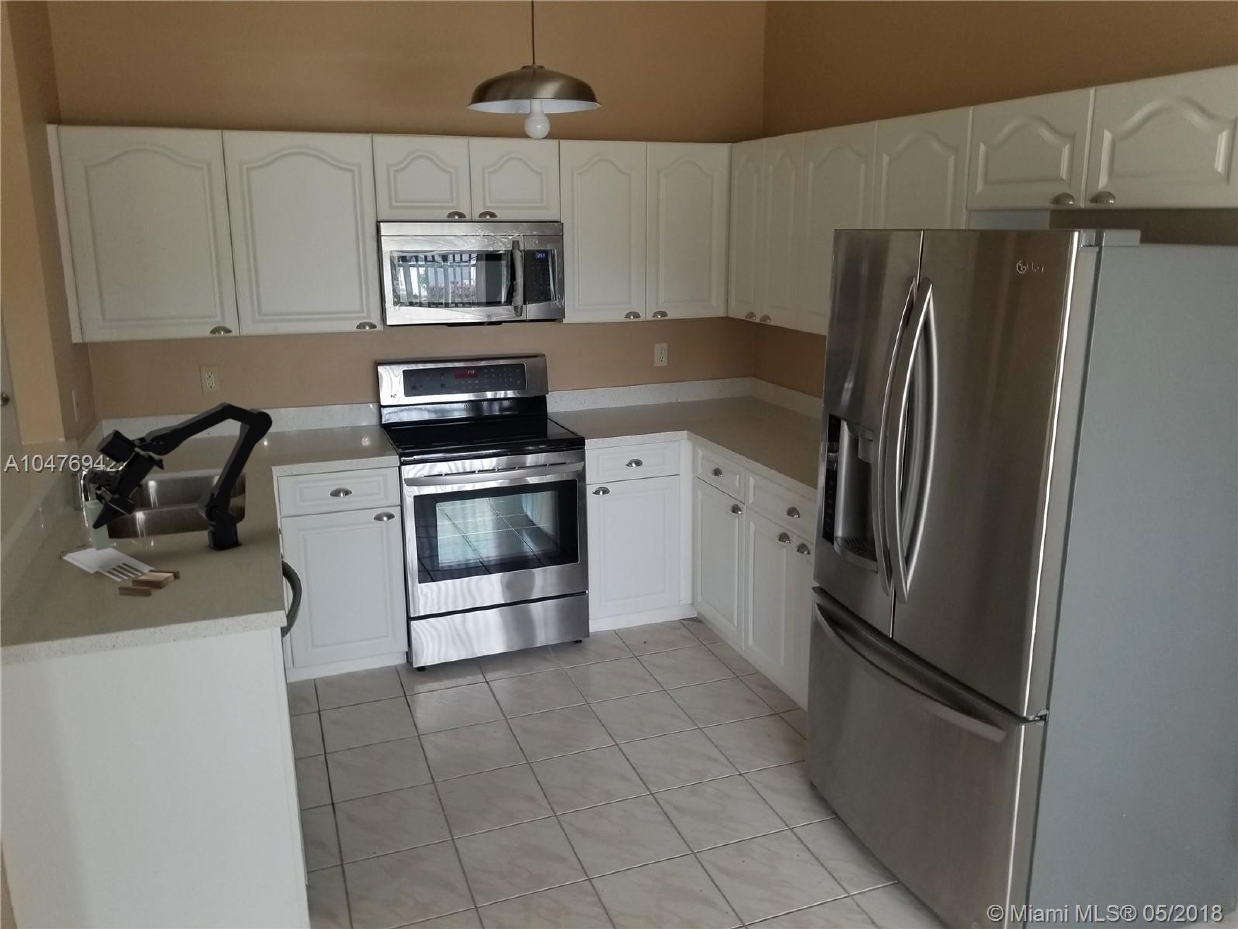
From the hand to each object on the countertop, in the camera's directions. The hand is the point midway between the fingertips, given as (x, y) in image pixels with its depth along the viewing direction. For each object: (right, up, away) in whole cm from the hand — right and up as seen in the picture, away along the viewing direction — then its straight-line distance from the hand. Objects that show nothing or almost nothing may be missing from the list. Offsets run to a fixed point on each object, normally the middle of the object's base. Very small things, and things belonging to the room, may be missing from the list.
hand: (90, 525), depth 227 cm
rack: (+19, -15, -7) cm, 25 cm away
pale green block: (+1, -5, +2) cm, 6 cm away
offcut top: (+19, -13, -6) cm, 23 cm away
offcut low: (+19, -13, -5) cm, 24 cm away
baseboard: (0, -12, +8) cm, 14 cm away
